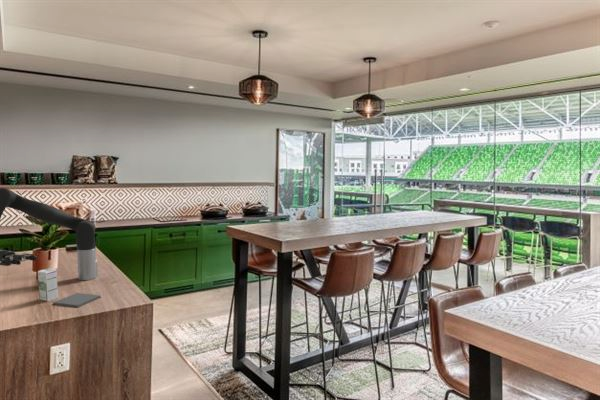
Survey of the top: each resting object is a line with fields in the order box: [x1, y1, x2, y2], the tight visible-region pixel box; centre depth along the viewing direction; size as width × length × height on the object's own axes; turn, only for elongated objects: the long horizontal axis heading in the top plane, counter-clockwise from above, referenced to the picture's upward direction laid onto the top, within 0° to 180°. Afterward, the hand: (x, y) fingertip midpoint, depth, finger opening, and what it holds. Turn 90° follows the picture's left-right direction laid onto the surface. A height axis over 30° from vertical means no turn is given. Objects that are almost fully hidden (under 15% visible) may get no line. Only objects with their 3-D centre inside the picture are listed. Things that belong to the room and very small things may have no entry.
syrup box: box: [37, 268, 59, 302], centre depth 186 cm, size 6×6×14 cm
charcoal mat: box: [52, 292, 102, 308], centre depth 185 cm, size 14×14×1 cm
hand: (28, 260), depth 188 cm, fingers open, 8 cm apart
